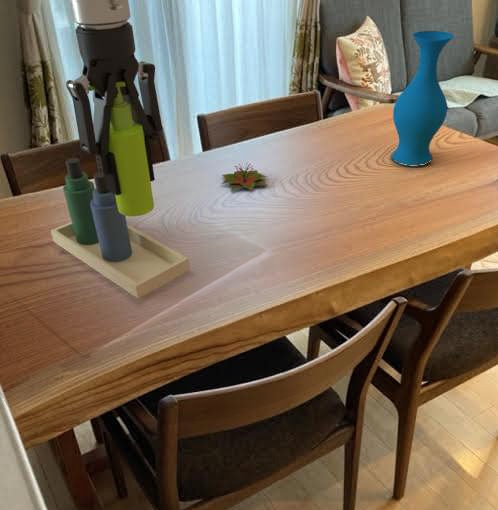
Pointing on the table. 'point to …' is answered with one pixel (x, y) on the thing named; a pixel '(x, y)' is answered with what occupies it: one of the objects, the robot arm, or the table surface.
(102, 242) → the smoky-blue bottle
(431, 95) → the vase
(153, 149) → the robot arm
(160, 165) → the table surface
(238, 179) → the lily flower
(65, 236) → the tray
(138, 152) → the soap dispenser
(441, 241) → the table surface
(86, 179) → the green bottle
